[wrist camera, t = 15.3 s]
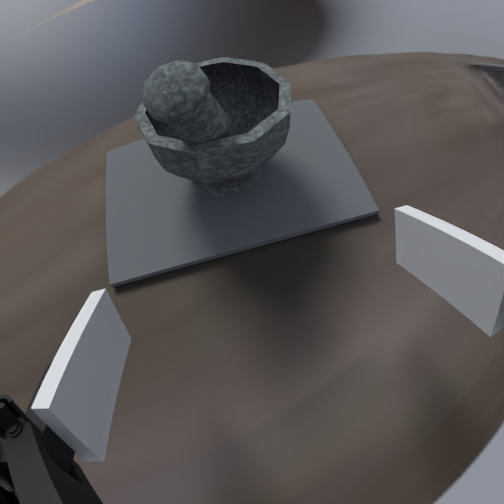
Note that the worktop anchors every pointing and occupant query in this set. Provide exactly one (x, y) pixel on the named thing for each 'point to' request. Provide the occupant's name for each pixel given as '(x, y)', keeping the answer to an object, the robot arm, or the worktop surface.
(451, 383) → the worktop surface
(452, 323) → the worktop surface
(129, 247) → the rubber mat
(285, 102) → the mortar and pestle
